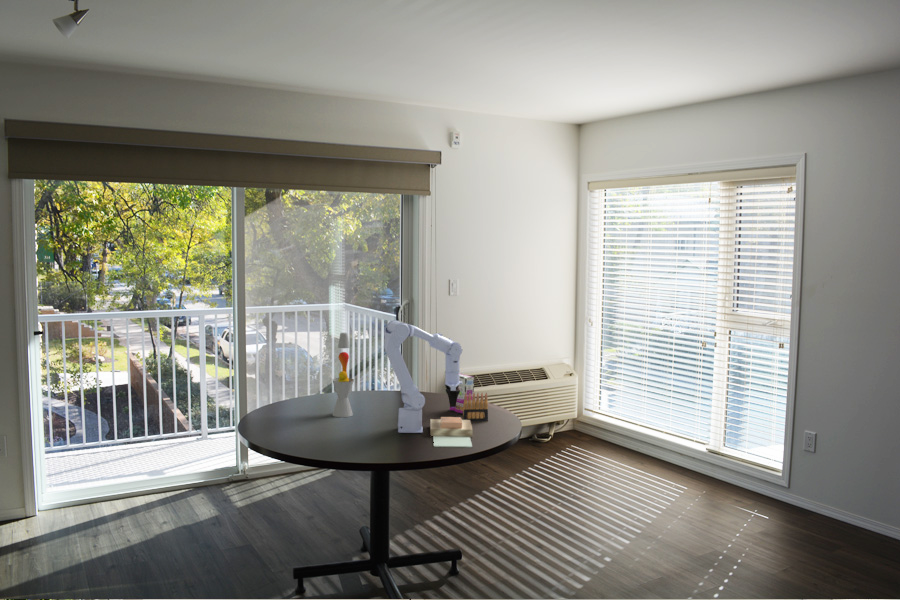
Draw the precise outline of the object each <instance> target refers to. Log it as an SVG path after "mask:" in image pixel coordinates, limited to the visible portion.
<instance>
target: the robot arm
mask: <svg viewBox="0 0 900 600" xmlns="http://www.w3.org/2000/svg"><path fill="white" fill-rule="evenodd" d="M383 332H384V345H383V349H384V351H385V354H386V356H387V358H388V360H389V363H390V365H391V368H392V369H393V372H394V374H395V376H396V379H397V382H399V385H400V387H401V388H400V393H401V401H402V402H403V407H399V408H398V420H397V421H398V422H397V432H398V433H403V434H404V433H405V434H409V433H410V434H411V433H412V434H423V433H424V431H423V429H424V428H423V427H424V426H423V422H422V421H423V407H424V406H425V404H426V398H425V396H424V395H423V393H421V392H420V390H419V388H418V387H417V386H416V384H415V383H414V381H413V378H412V376H411V374H410V372H409V369H408V367H407V364H406V362H405V360H404V358H403V355H402V352H401V350H400V347H401V345H402V344H403V342H405V340H406V339H407V338H408V337H409V338H411V337H413V336H414V337H416V338H418V339H421V340H424V341H425V342H427V343H428V344H429V345H428V346H429V347H431V348H433V349H435V350H437V351H439V352H441V353H444V354H445V359H444V360H445V363H444V365H445V367H444V368H445V375H444V376H445V378H444V379H445V381H444V386H445V388H446V389H445V392H446V394H447V397H448V403H449V408H450V407H455V406H456V402H457V397H458V394H459V393H460V390H457V389H458V387H459V384H462V381H460V374H461V372H460V368H461V367H460V363H461V362H460V358H461V355H462V353H463V348H462V346H461V344H460V343H458V342H456V341H453V339H452V338H451V337H450V338H447V337H445V336H443V334H442V333H440V332H438V333H437V332H436V333H433V334H431V333H429V332H427V331H425V330H423V329H421V328H419V327H417V326H415V325H413V324H409V323H405V322H402V321H398V320H395V319H393V320H390V321H389V322H388V323H387V324H386V326H385V328H384V330H383Z"/></svg>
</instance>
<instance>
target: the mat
mask: <svg viewBox="0 0 900 600" xmlns="http://www.w3.org/2000/svg"><path fill="white" fill-rule="evenodd" d="M432 440H433V442H434V443H433V447H434V448H473V443H472V441H471V437H460V436H433V437H432Z"/></svg>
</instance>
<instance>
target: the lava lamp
mask: <svg viewBox="0 0 900 600" xmlns="http://www.w3.org/2000/svg"><path fill="white" fill-rule="evenodd" d="M337 348H338V349H349V348H350V341H349V334H348V332H340V334H339V340H338V345H337ZM338 360H339V362H340V364H341V367H342V368H341V369H342V371H340V372H339V373H338V377H337V378H336V377H335V378H333V379H332V382H333V387H334V389H335V392H336V396H337V399H336V402H335V405H334V408H333V410H332V416H333V417H335V418H348V417H351V416H352V417H353V415H354V414H353V410H352V406H351V403H350V400H349V395H350V393H351V391H352V388H353V385H354V382H355V379H353V378H350V377H348V372H347V371H348V370H347V368H348V362H349V360H350V355H349V353H347V352H345V351H342V352H340V353H339V354H338Z"/></svg>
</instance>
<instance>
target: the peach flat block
mask: <svg viewBox="0 0 900 600" xmlns="http://www.w3.org/2000/svg"><path fill="white" fill-rule="evenodd" d="M440 419H441V428H462V417H459V416H456V417H455V416H440Z"/></svg>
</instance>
